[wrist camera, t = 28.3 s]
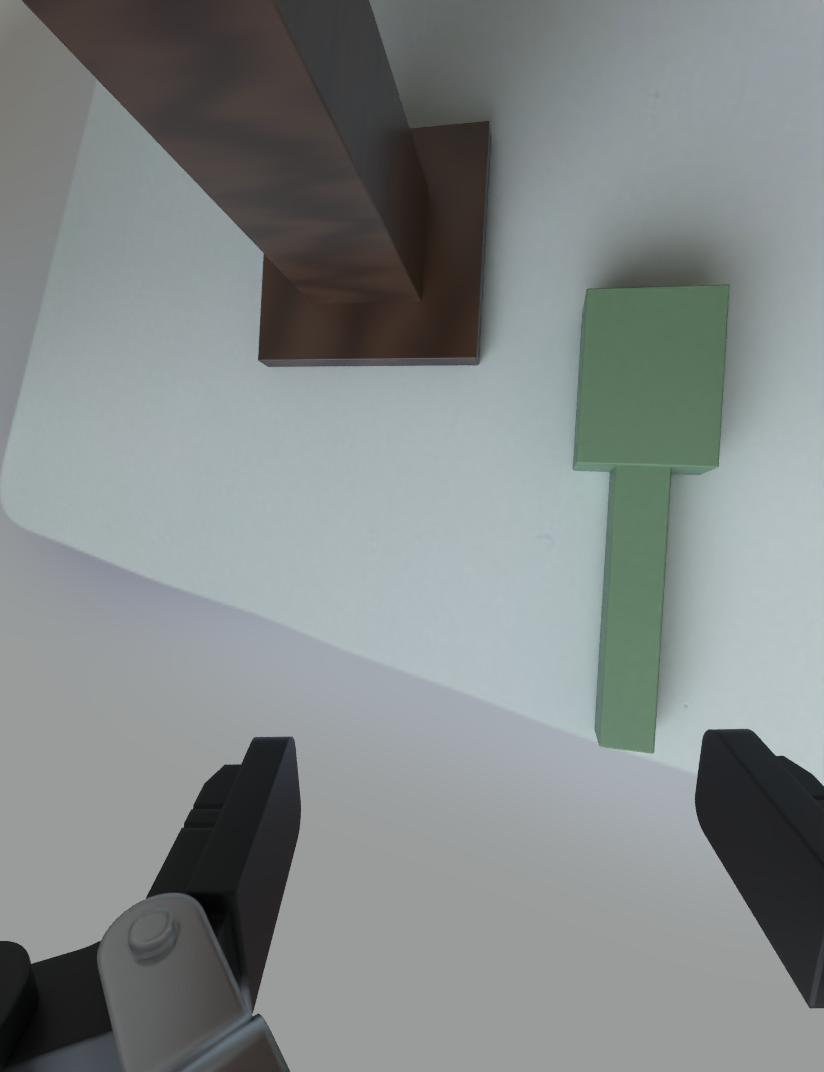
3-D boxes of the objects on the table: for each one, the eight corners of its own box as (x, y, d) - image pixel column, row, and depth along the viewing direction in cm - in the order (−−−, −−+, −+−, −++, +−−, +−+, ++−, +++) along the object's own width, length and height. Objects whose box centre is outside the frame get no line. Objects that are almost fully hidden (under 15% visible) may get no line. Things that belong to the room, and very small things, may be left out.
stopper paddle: (557, 726, 30) (559, 746, 27) (582, 312, 30) (586, 288, 27) (684, 741, 29) (700, 764, 26) (710, 310, 29) (730, 283, 26)
